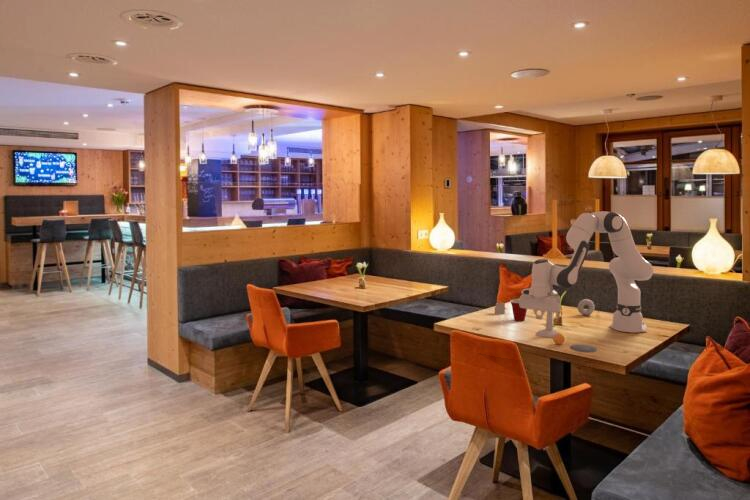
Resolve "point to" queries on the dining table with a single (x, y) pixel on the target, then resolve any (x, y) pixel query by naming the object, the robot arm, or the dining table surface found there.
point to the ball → (558, 338)
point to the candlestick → (548, 323)
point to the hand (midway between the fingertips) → (538, 318)
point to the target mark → (583, 348)
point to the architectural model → (500, 308)
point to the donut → (590, 309)
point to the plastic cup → (518, 310)
